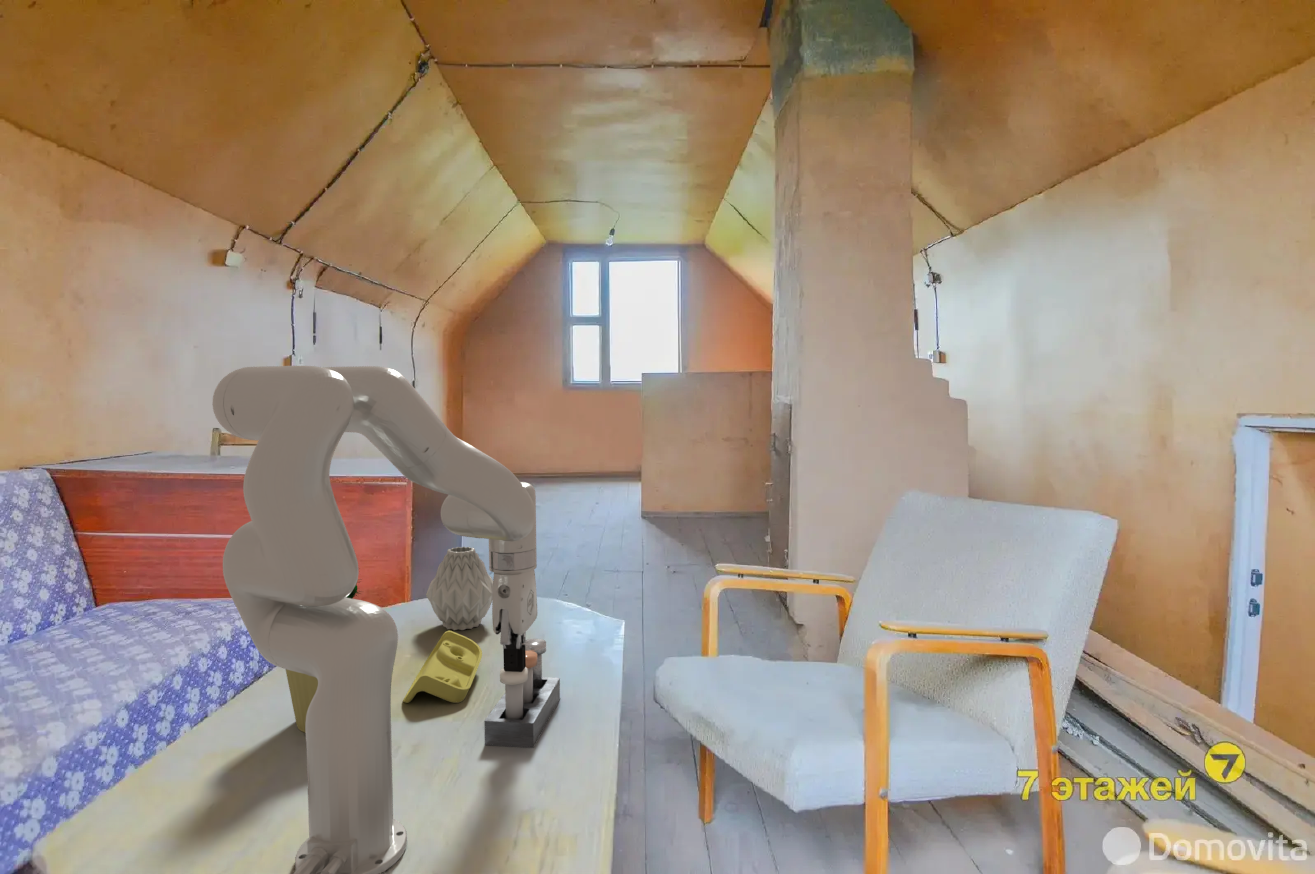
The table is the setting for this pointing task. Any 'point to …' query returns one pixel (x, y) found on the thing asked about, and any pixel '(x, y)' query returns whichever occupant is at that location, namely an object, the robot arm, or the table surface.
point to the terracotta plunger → (529, 677)
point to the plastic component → (448, 669)
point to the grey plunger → (539, 648)
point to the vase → (461, 589)
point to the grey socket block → (533, 721)
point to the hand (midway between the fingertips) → (514, 669)
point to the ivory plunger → (514, 692)
